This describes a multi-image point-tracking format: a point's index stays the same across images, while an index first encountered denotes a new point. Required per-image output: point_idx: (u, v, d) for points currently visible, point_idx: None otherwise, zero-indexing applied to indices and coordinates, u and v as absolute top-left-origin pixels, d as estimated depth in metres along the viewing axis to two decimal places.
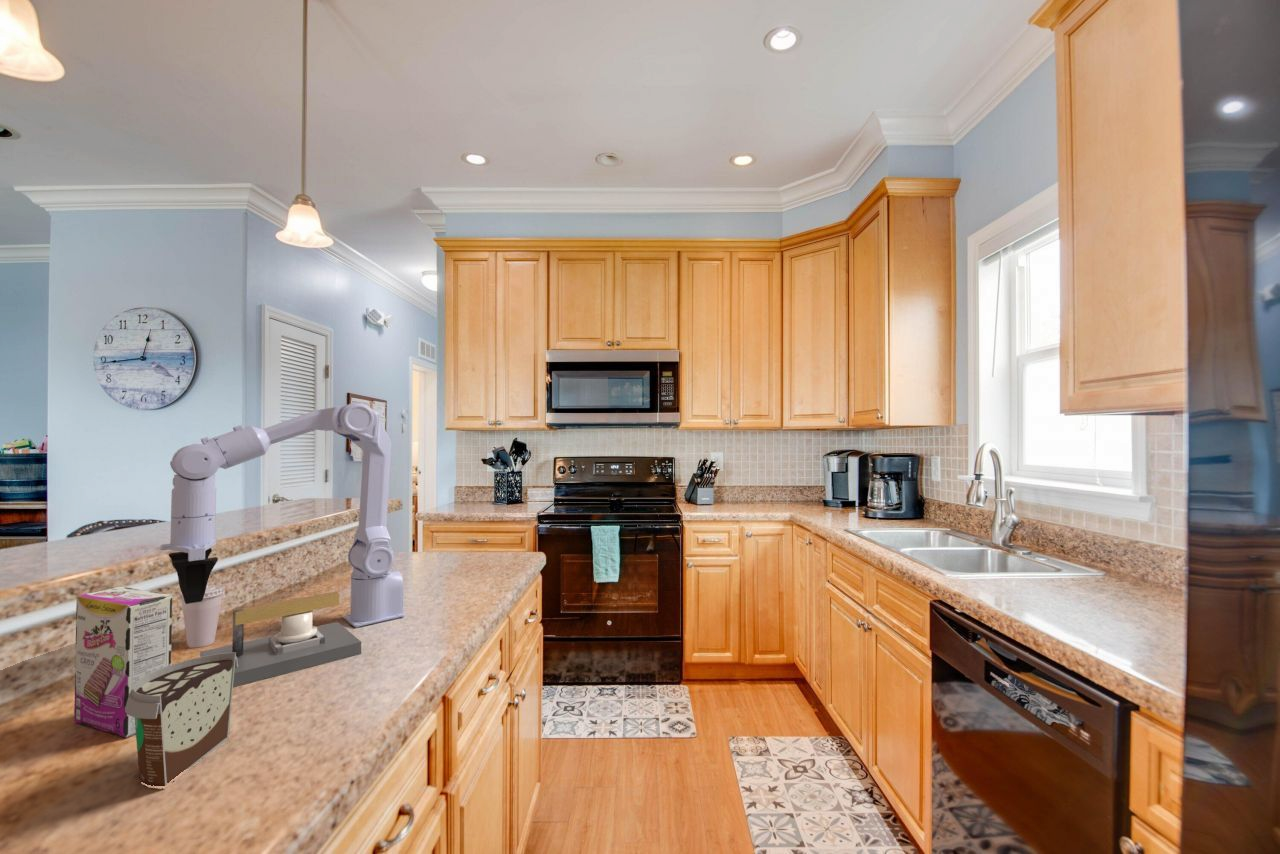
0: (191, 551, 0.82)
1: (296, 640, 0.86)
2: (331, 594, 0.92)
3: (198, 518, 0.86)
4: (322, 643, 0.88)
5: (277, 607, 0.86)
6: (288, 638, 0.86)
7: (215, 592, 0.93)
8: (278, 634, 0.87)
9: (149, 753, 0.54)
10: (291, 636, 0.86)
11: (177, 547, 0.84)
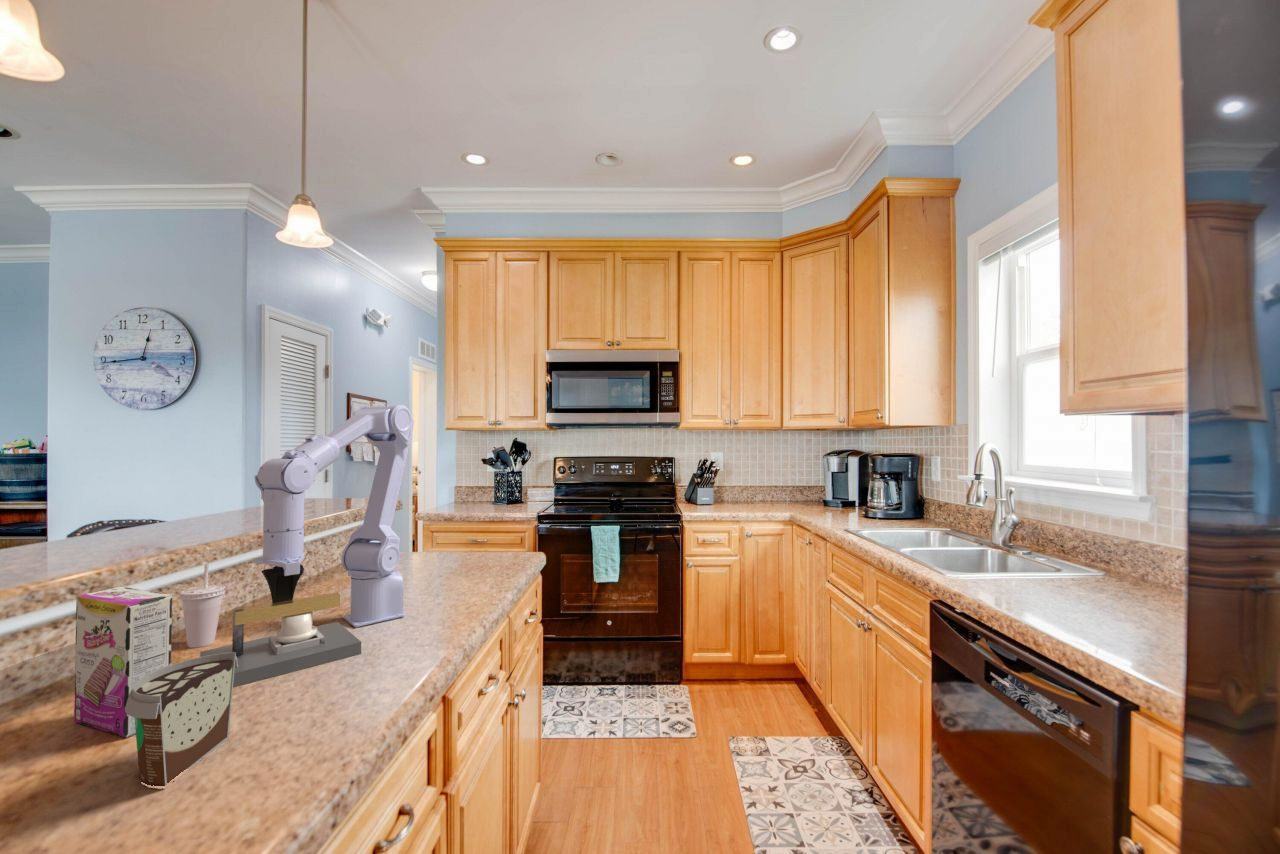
0: (287, 566, 0.82)
1: (296, 640, 0.86)
2: (332, 595, 0.91)
3: (290, 532, 0.87)
4: (322, 643, 0.88)
5: (277, 608, 0.86)
6: (288, 638, 0.86)
7: (215, 592, 0.93)
8: (278, 634, 0.87)
9: (149, 753, 0.54)
10: (291, 636, 0.86)
11: (271, 561, 0.85)
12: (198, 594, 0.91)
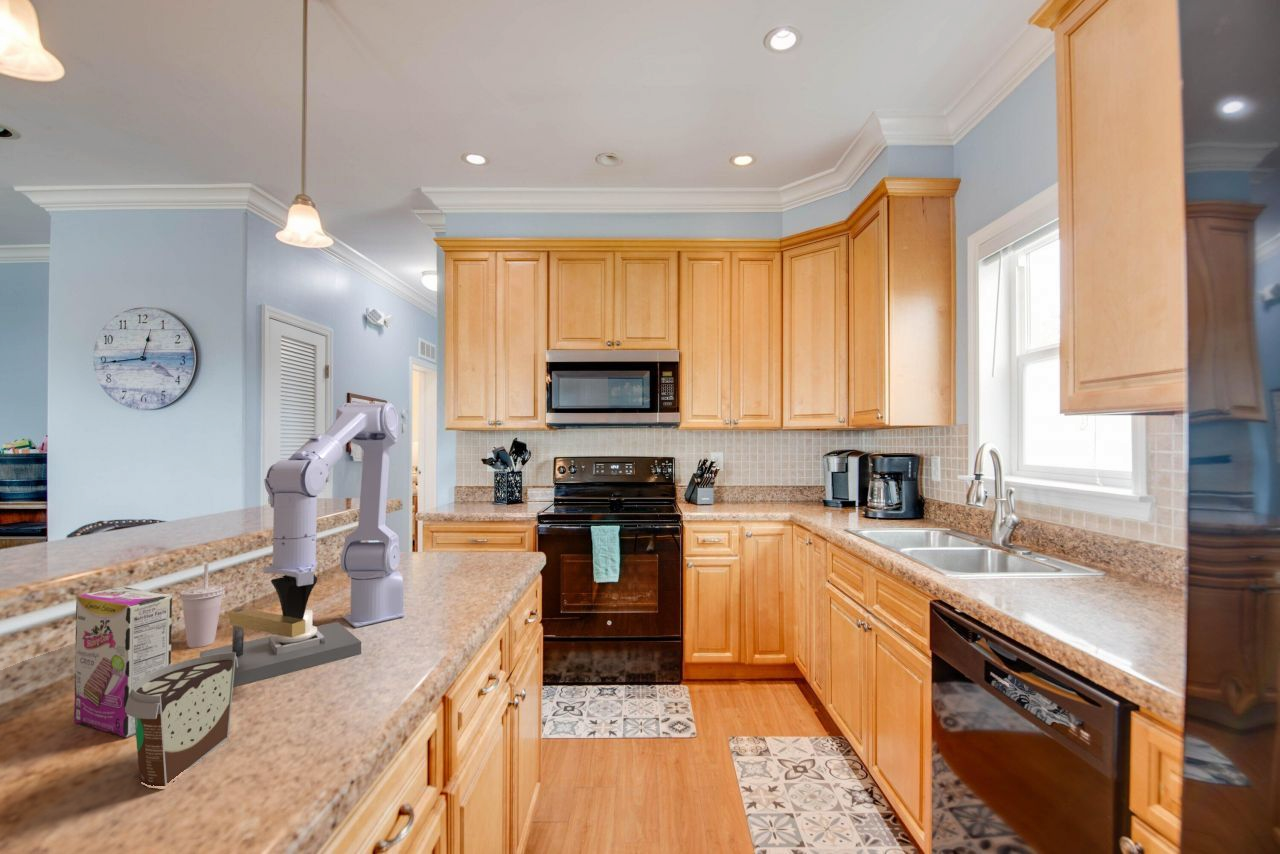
0: (300, 575, 0.76)
1: (296, 640, 0.86)
2: (288, 622, 0.77)
3: (302, 539, 0.81)
4: (322, 643, 0.88)
5: (252, 619, 0.80)
6: (288, 638, 0.86)
7: (215, 592, 0.93)
8: None
9: (149, 753, 0.54)
10: None
11: (282, 570, 0.79)
12: (198, 594, 0.91)
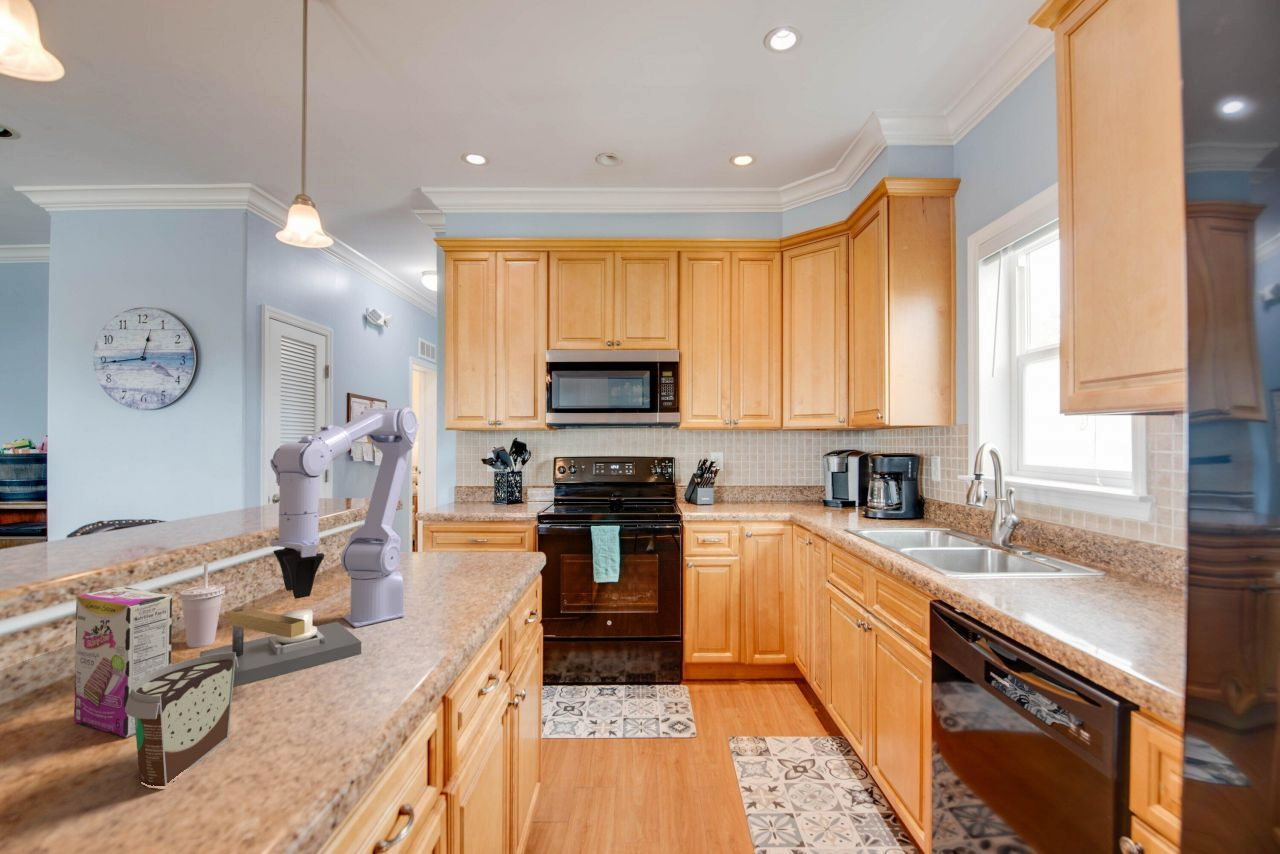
0: (304, 547, 0.83)
1: (296, 640, 0.86)
2: (287, 622, 0.77)
3: (306, 515, 0.87)
4: (322, 643, 0.88)
5: (252, 619, 0.80)
6: (288, 638, 0.86)
7: (215, 592, 0.93)
8: None
9: (149, 753, 0.54)
10: None
11: (287, 543, 0.85)
12: (198, 594, 0.91)
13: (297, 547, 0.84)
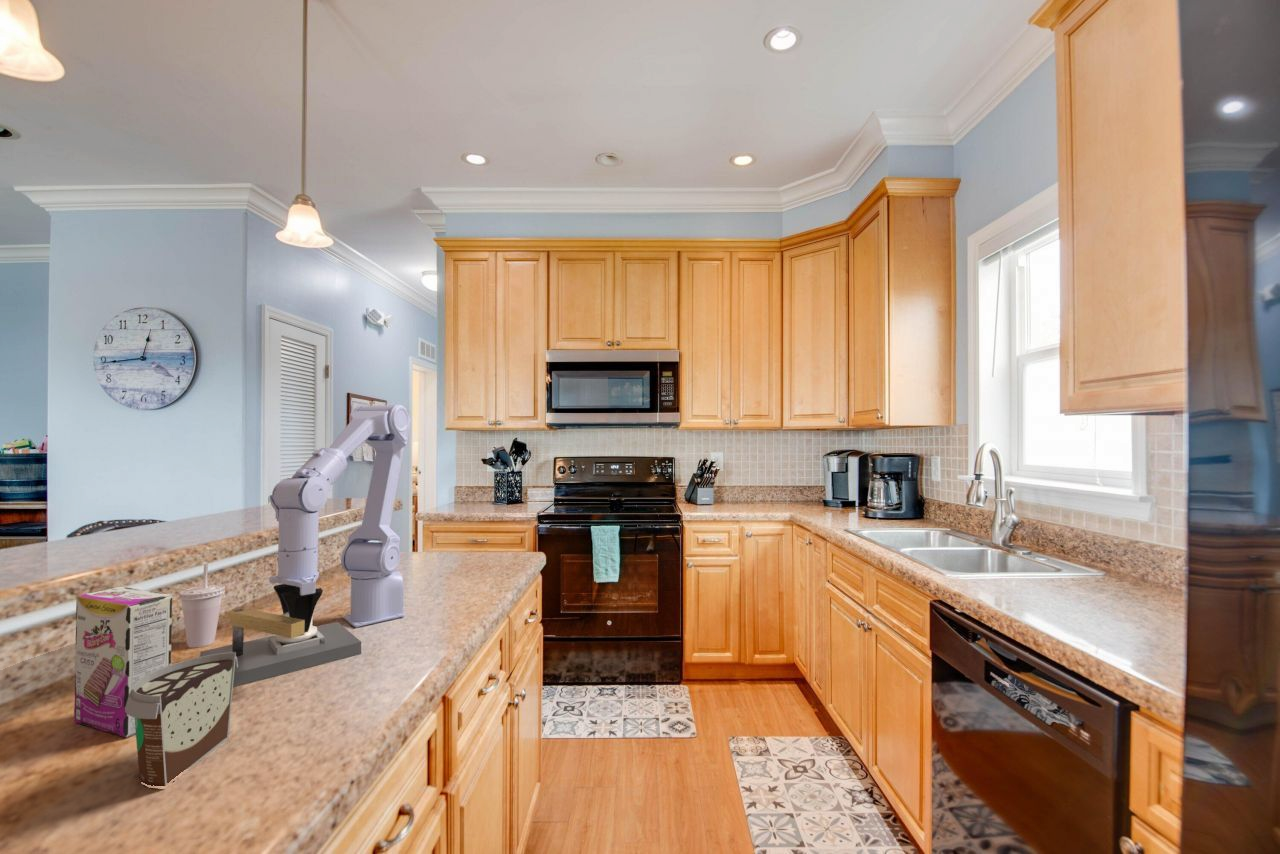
0: (303, 585, 0.83)
1: (296, 640, 0.86)
2: (287, 622, 0.77)
3: (305, 551, 0.87)
4: (322, 643, 0.88)
5: (252, 619, 0.80)
6: (288, 638, 0.86)
7: (215, 592, 0.93)
8: None
9: (149, 753, 0.54)
10: None
11: (287, 580, 0.85)
12: (197, 594, 0.91)
13: (296, 584, 0.84)
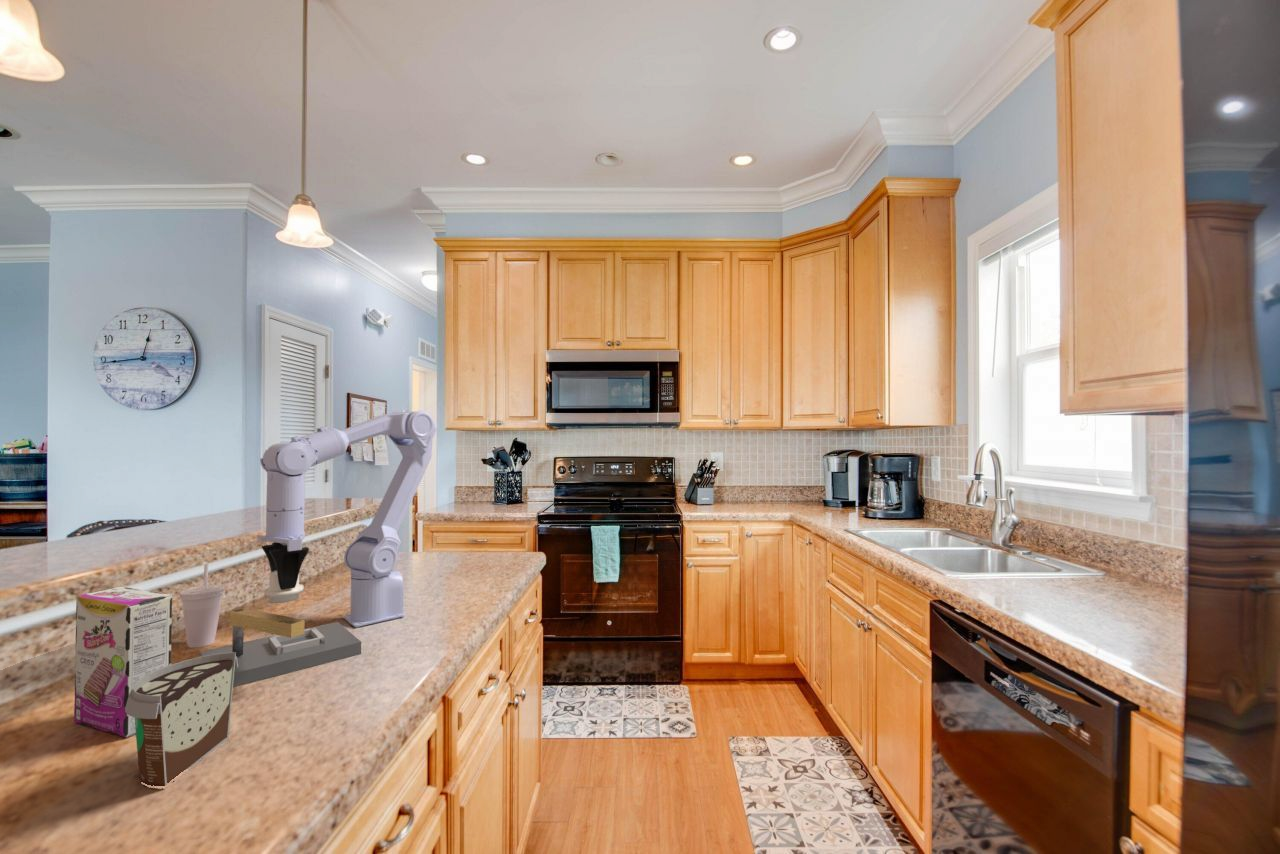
0: (290, 542, 0.88)
1: (283, 595, 0.91)
2: (287, 622, 0.77)
3: (292, 511, 0.92)
4: (322, 643, 0.88)
5: (252, 619, 0.80)
6: (276, 593, 0.91)
7: (215, 592, 0.93)
8: (266, 590, 0.92)
9: (149, 753, 0.54)
10: (278, 591, 0.91)
11: (274, 538, 0.90)
12: (198, 594, 0.91)
13: (284, 542, 0.89)
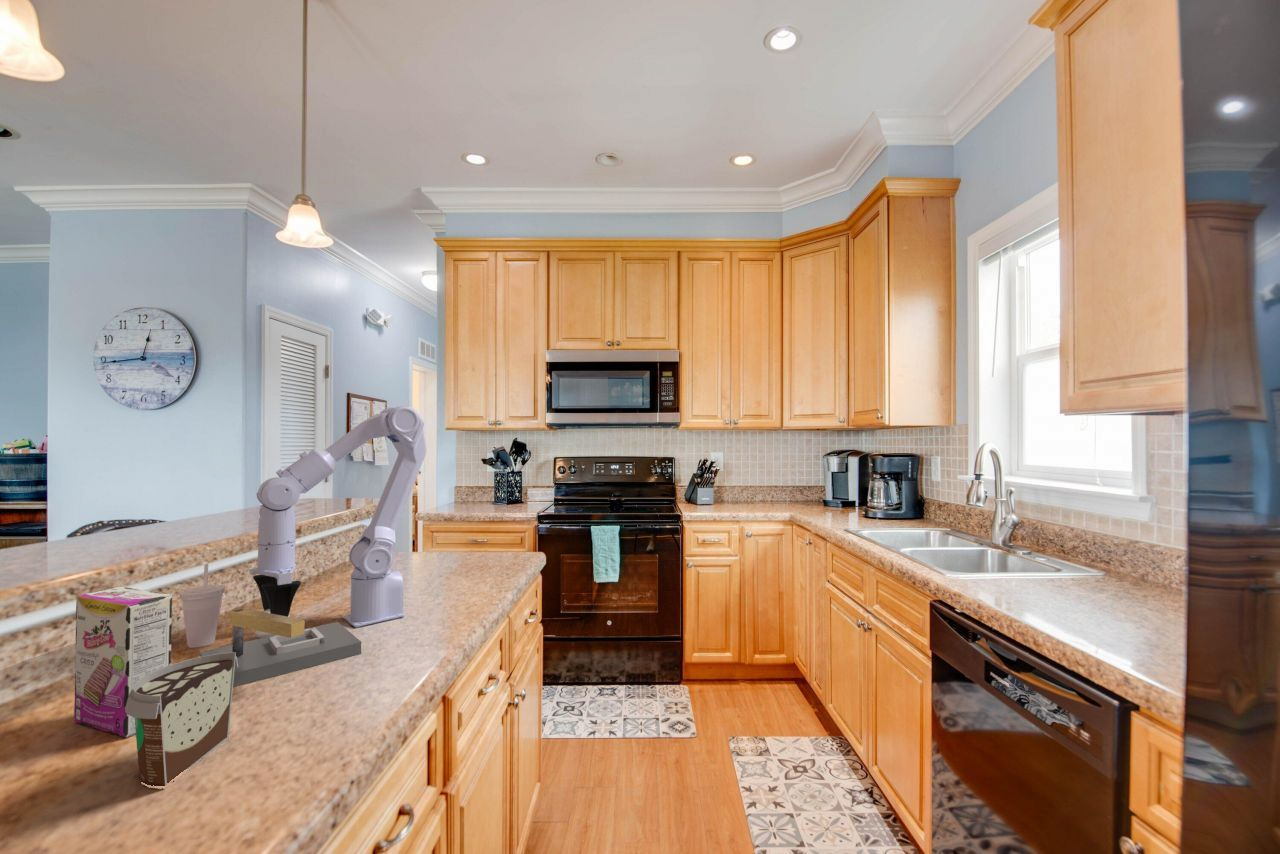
0: (280, 576, 0.91)
1: (273, 635, 0.94)
2: (287, 622, 0.77)
3: (282, 545, 0.95)
4: (322, 643, 0.88)
5: (252, 619, 0.80)
6: (266, 633, 0.93)
7: (215, 592, 0.93)
8: None
9: (149, 753, 0.54)
10: None
11: (265, 572, 0.93)
12: (198, 594, 0.91)
13: (274, 575, 0.92)
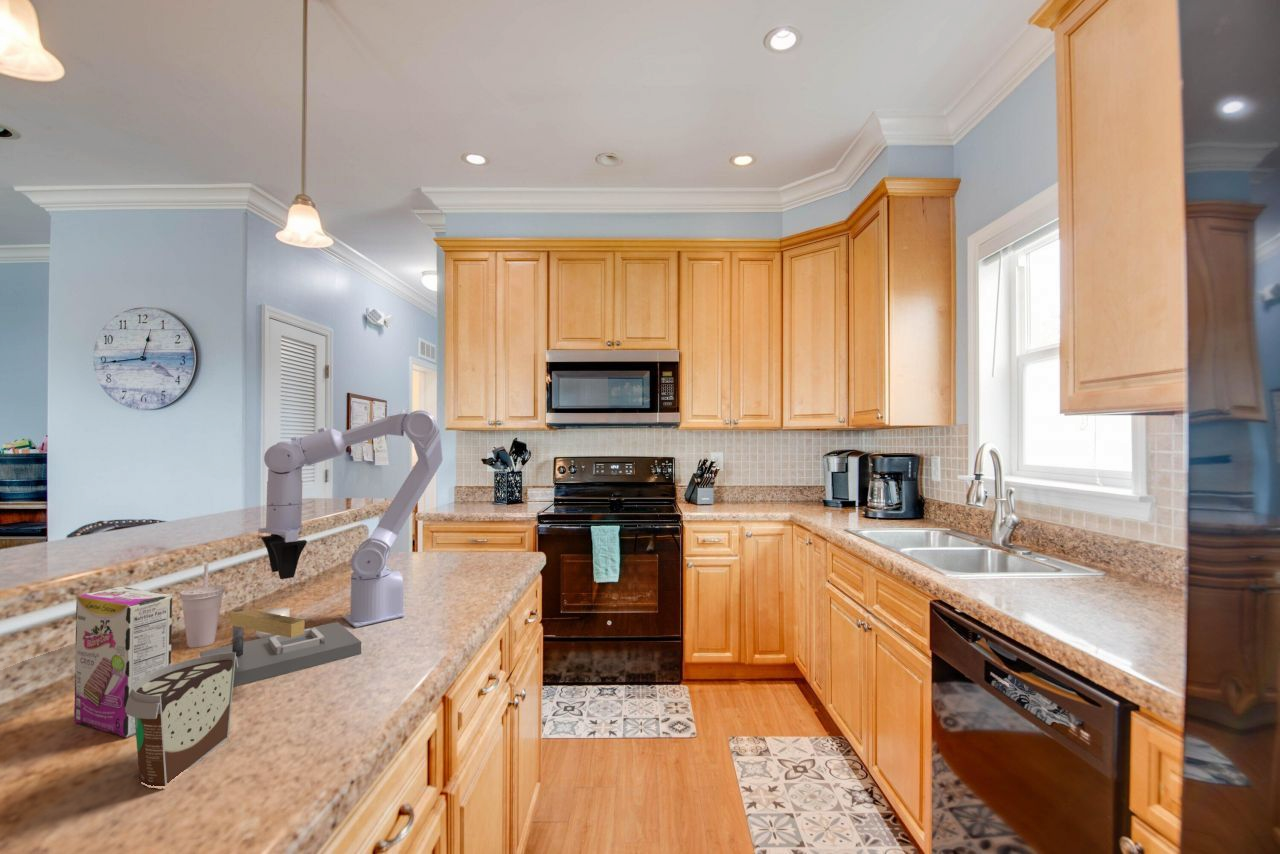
0: (287, 534, 0.96)
1: (274, 635, 0.94)
2: (287, 622, 0.77)
3: (290, 506, 1.00)
4: (322, 643, 0.88)
5: (252, 619, 0.80)
6: (266, 633, 0.93)
7: (215, 592, 0.93)
8: None
9: (149, 753, 0.54)
10: None
11: (273, 530, 0.98)
12: (198, 594, 0.91)
13: (282, 533, 0.97)
